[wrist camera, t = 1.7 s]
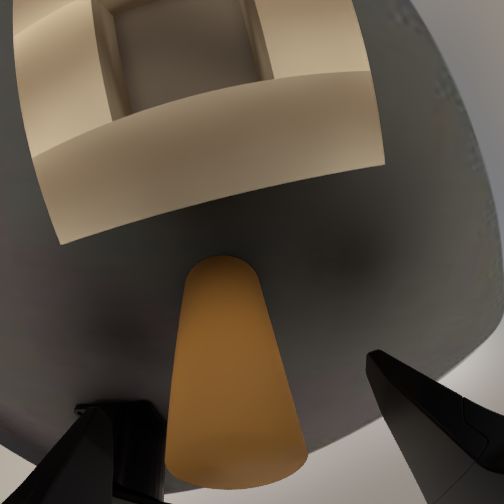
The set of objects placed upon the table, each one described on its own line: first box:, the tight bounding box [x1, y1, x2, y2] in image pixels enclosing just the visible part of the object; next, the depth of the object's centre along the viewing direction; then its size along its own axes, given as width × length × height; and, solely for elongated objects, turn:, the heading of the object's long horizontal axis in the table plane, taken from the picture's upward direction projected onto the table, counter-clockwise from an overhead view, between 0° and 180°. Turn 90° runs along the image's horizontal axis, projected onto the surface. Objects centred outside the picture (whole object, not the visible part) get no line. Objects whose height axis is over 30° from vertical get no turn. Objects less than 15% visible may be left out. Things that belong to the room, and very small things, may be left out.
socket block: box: [13, 0, 385, 245], centre depth 8 cm, size 12×12×3 cm
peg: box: [165, 255, 308, 490], centre depth 10 cm, size 4×4×9 cm
